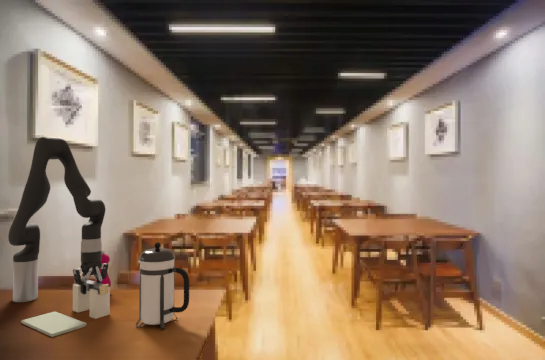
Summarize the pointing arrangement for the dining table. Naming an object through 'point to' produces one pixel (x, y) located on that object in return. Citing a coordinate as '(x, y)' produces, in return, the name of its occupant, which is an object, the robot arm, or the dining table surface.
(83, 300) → the post
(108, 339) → the dining table surface
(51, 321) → the mat
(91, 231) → the robot arm
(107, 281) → the pepper mill
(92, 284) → the rail
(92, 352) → the dining table surface
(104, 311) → the post
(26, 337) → the dining table surface
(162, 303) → the coffee press
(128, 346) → the dining table surface
